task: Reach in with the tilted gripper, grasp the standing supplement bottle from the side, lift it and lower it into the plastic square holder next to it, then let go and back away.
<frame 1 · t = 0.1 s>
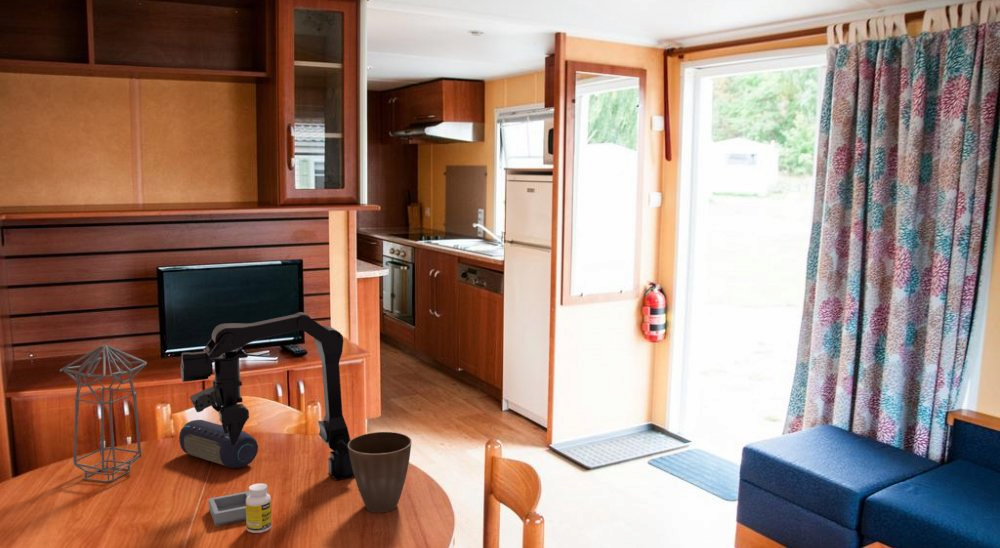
hand: (229, 438, 190), 15 cm above the table, tool pointing down, fingers open, 9 cm apart
geometric lantern: (111, 475, 204), on the table
supplement bottle: (259, 529, 175), on the table
portable speaker: (217, 461, 215), on the table
plant pot: (380, 507, 186), on the table
can holder: (233, 514, 181), on the table
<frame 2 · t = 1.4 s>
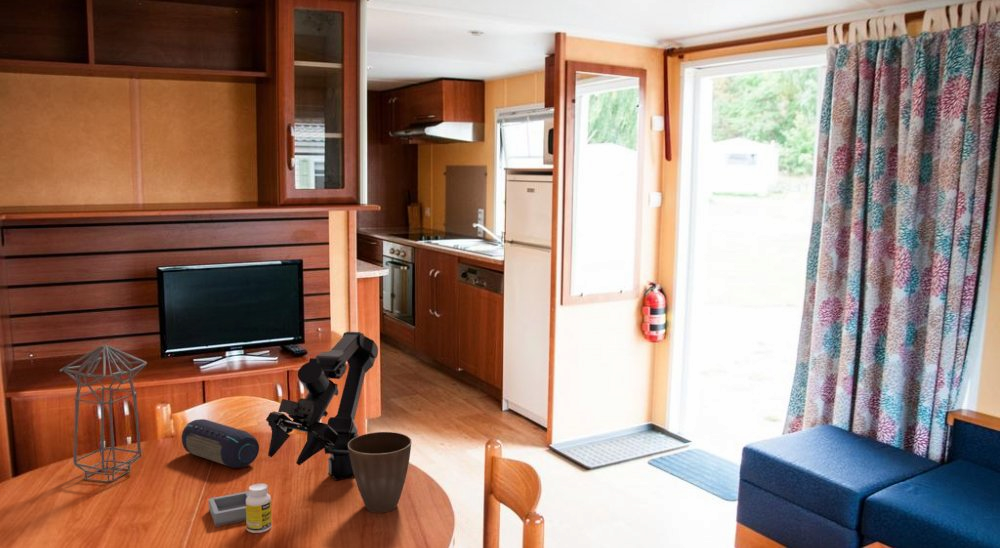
hand: (283, 460, 179), 13 cm above the table, tool tilted 45°, fingers open, 9 cm apart
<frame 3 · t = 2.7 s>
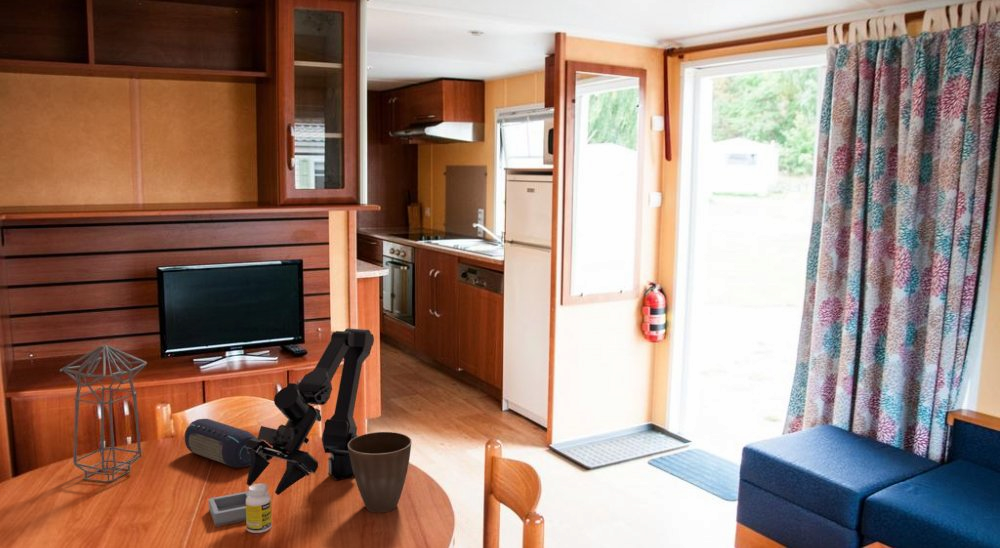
hand: (262, 489, 174), 9 cm above the table, tool tilted 45°, fingers open, 9 cm apart
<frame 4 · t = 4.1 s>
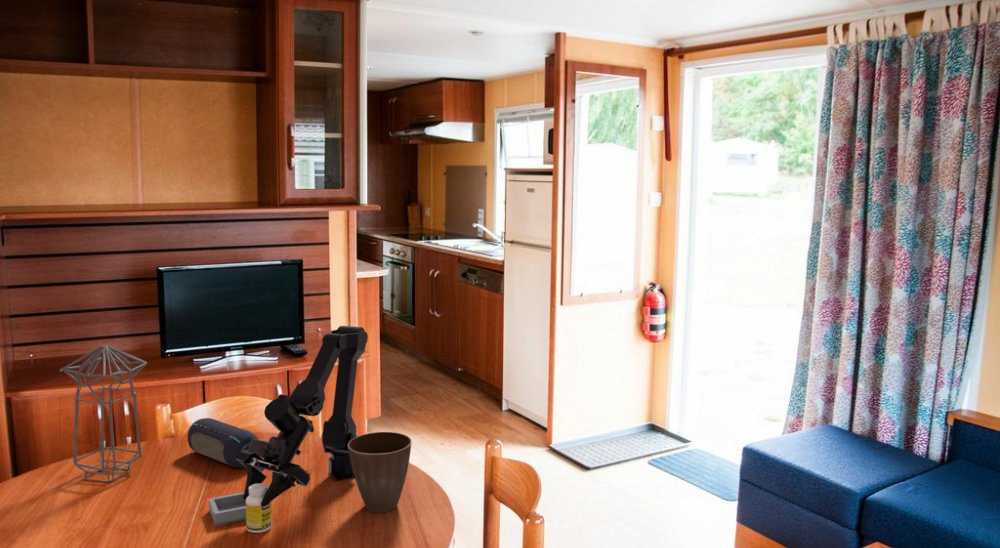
hand: (253, 502, 172), 7 cm above the table, tool tilted 45°, fingers closed on supplement bottle, 5 cm apart
supplement bottle: (259, 529, 175), on the table, touching gripper
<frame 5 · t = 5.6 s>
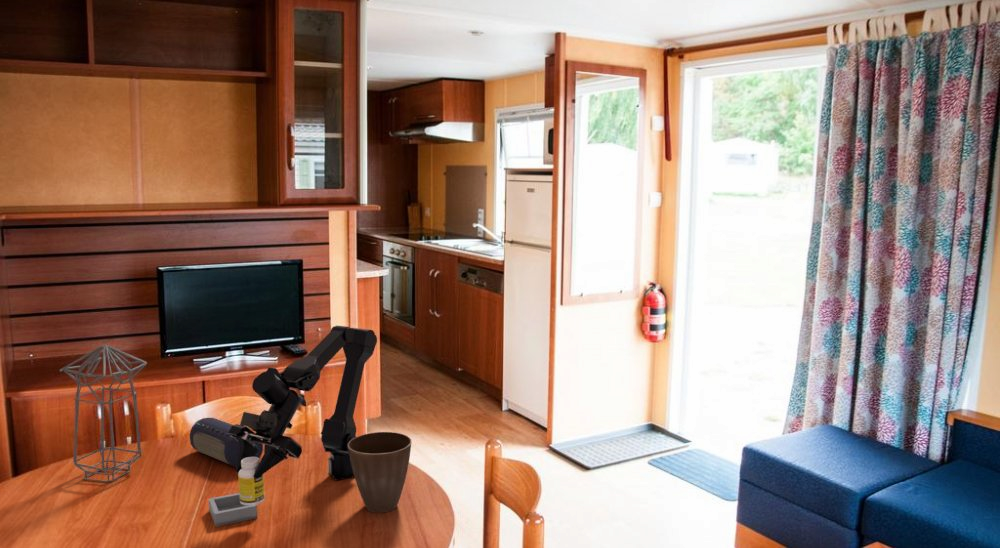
hand: (245, 475, 174), 12 cm above the table, tool tilted 45°, fingers closed on supplement bottle, 5 cm apart
supplement bottle: (252, 501, 176), point 5 cm above the table, touching gripper
when the fingers open (8 cm above the table, at t = 7.5 s): supplement bottle stays where it is, resting on can holder.
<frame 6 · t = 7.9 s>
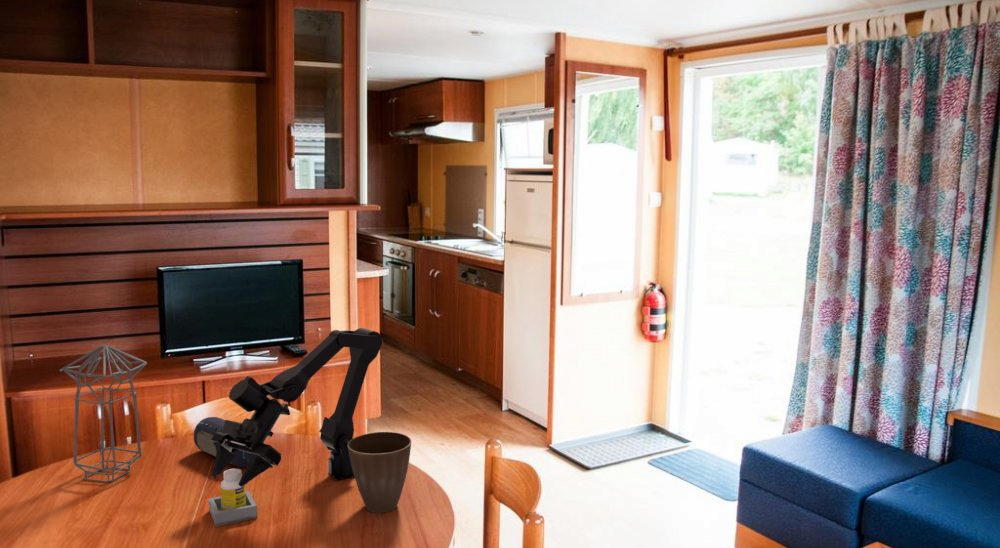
hand: (226, 481, 179), 9 cm above the table, tool tilted 45°, fingers open, 9 cm apart
supplement bottle: (233, 512, 181), resting on can holder
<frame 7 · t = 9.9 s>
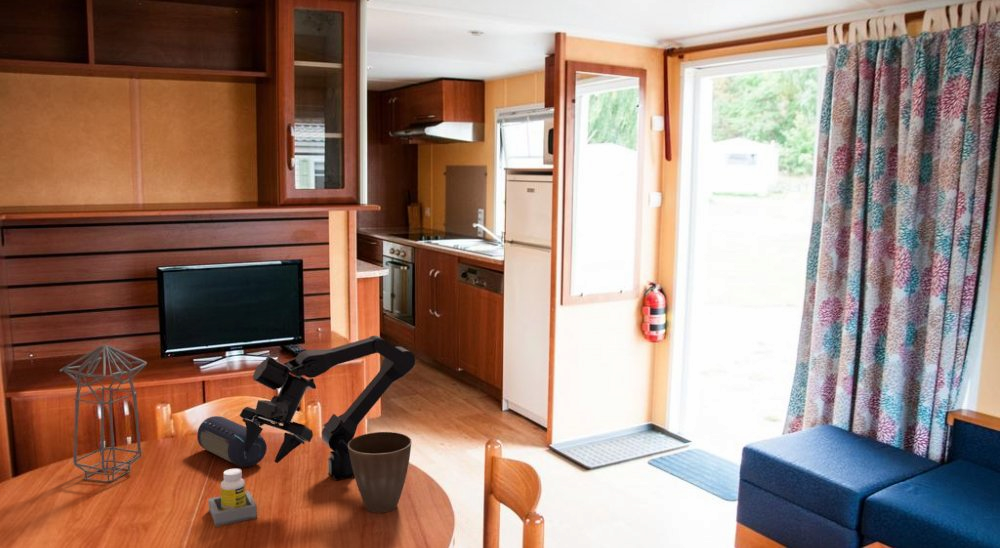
hand: (260, 457, 188), 11 cm above the table, tool tilted 35°, fingers open, 9 cm apart
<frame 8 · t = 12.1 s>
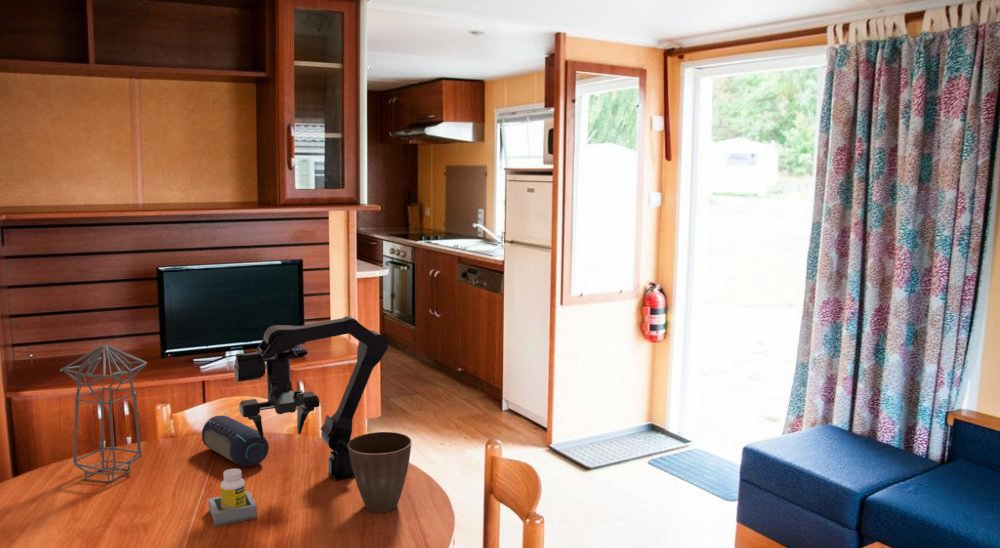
hand: (280, 436, 196), 13 cm above the table, tool pointing down, fingers open, 9 cm apart
at the end: supplement bottle 0.2 cm off-centre on the can holder, point 0.4 cm above the can holder's base; supplement bottle tilted 0°; the gripper is holding nothing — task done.
